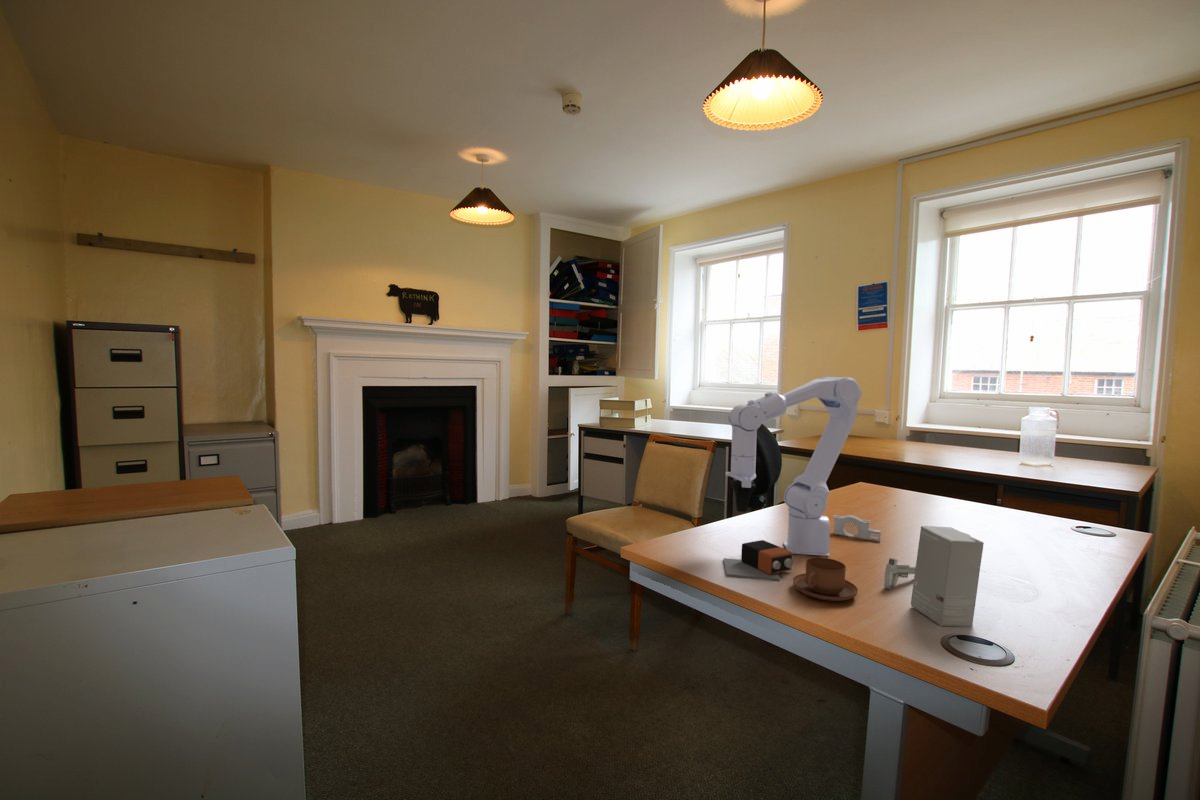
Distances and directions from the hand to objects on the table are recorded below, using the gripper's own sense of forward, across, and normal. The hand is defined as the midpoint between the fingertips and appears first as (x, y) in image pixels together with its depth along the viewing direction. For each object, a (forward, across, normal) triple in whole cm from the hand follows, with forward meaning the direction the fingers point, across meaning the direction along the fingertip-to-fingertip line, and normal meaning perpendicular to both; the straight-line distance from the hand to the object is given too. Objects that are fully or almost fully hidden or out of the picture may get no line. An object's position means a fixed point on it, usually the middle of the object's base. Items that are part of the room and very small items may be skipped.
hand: (741, 511), depth 130 cm
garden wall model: (+11, -20, +33) cm, 40 cm away
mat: (+10, +11, +1) cm, 15 cm away
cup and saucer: (+11, +21, +14) cm, 27 cm away
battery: (+8, +5, +2) cm, 10 cm away
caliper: (+11, +10, +36) cm, 38 cm away
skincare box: (+11, +28, +33) cm, 45 cm away
